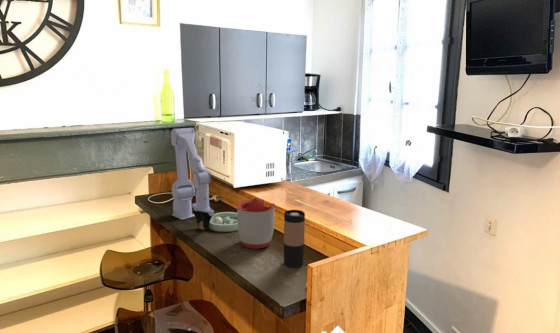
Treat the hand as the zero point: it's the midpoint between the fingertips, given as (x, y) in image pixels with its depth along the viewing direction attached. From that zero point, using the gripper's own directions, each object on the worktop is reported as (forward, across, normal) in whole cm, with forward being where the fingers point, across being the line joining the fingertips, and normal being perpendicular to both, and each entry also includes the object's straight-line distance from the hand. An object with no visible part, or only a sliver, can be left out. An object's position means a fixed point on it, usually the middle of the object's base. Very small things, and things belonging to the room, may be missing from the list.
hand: (203, 226), depth 183 cm
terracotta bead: (+1, 0, 0) cm, 1 cm away
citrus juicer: (+2, +28, +8) cm, 29 cm away
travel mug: (+2, +51, +6) cm, 52 cm away
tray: (+1, +2, +12) cm, 12 cm away
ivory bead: (+1, +2, +7) cm, 7 cm away
